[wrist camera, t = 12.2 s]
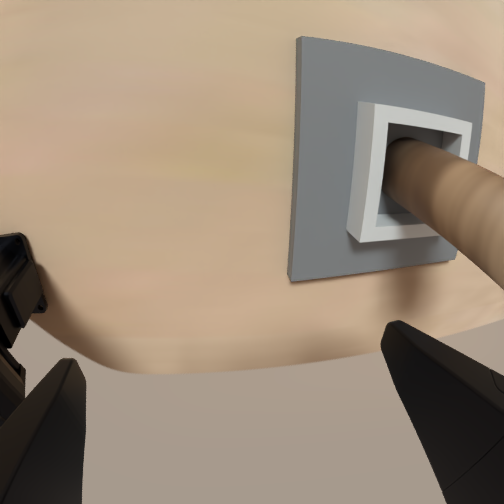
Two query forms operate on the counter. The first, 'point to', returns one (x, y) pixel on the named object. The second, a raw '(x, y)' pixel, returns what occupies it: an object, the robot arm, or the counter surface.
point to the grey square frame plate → (368, 154)
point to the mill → (450, 199)
